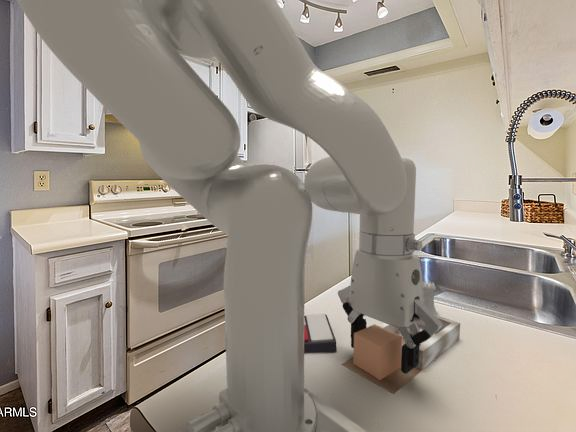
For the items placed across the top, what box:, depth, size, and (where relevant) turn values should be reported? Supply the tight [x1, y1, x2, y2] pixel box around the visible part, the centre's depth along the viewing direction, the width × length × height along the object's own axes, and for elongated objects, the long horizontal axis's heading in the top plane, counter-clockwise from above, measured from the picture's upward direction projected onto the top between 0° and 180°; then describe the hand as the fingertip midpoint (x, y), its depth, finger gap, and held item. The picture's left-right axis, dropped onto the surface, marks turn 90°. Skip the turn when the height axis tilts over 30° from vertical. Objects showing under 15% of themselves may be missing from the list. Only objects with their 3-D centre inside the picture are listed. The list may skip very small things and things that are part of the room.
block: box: [352, 324, 403, 380], centre depth 48 cm, size 5×5×5 cm
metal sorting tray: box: [340, 314, 461, 395], centre depth 52 cm, size 22×9×4 cm, turn 131°
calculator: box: [304, 313, 338, 354], centre depth 57 cm, size 11×4×15 cm
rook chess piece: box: [423, 280, 438, 316], centre depth 67 cm, size 4×4×8 cm
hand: (382, 356), depth 48 cm, fingers open, 8 cm apart
